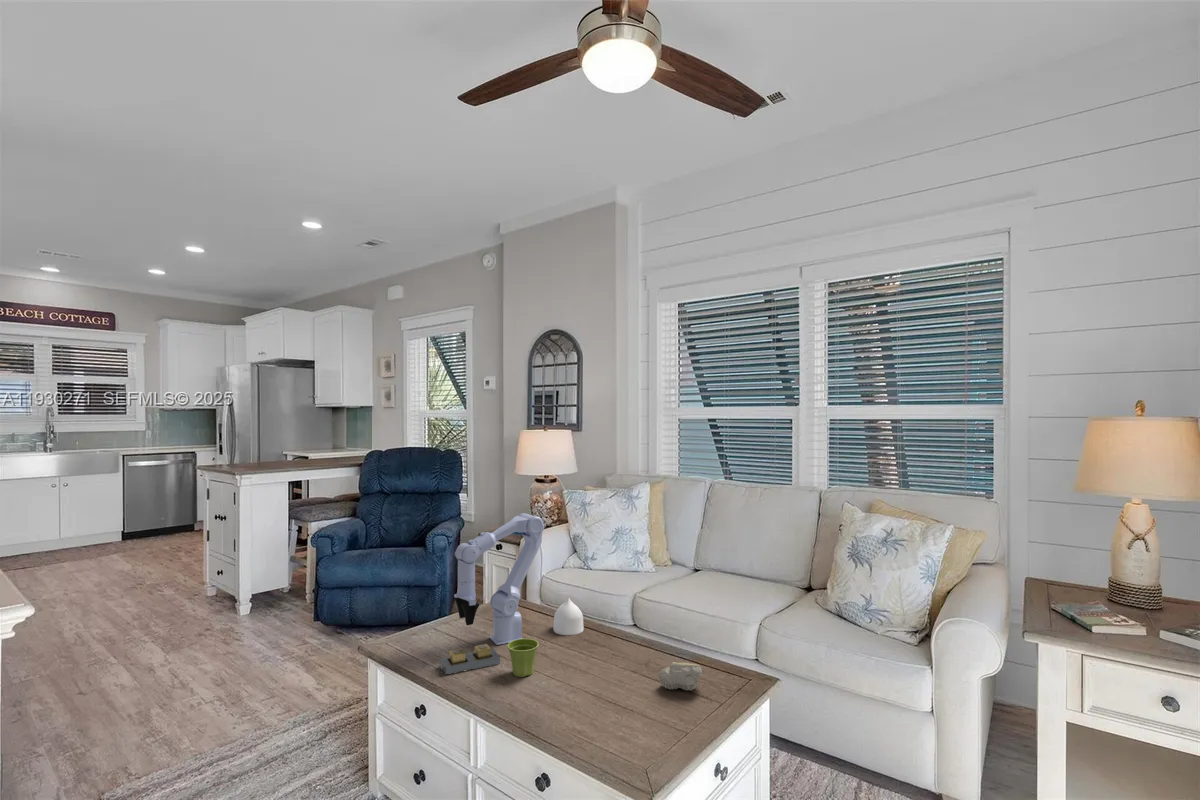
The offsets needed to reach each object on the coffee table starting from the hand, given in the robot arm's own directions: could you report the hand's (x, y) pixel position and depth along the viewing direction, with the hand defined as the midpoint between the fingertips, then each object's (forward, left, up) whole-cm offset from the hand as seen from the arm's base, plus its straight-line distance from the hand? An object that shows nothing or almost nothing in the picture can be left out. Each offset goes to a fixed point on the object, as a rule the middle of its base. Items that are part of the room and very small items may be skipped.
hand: (466, 621), depth 201 cm
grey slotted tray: (+2, +13, -9) cm, 16 cm away
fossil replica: (-46, +57, -10) cm, 74 cm away
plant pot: (-10, +26, -10) cm, 29 cm away
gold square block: (+7, +13, -10) cm, 17 cm away
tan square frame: (-2, +13, -10) cm, 16 cm away
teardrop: (-38, 0, -10) cm, 39 cm away
